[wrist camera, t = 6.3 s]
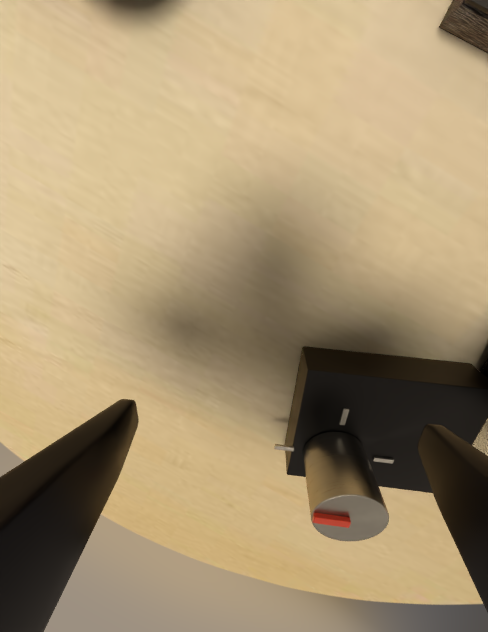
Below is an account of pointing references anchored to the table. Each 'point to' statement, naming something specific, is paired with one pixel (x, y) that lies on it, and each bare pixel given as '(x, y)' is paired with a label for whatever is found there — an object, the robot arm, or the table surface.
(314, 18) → the table surface
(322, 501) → the hob knob
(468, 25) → the picture frame
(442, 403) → the panel
